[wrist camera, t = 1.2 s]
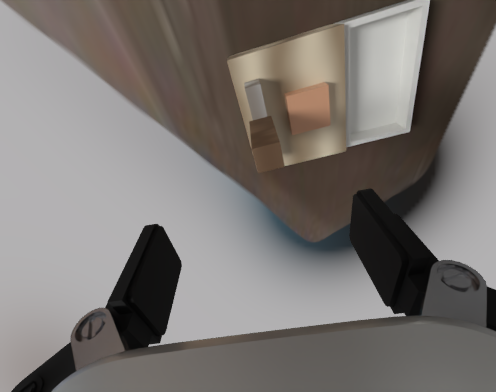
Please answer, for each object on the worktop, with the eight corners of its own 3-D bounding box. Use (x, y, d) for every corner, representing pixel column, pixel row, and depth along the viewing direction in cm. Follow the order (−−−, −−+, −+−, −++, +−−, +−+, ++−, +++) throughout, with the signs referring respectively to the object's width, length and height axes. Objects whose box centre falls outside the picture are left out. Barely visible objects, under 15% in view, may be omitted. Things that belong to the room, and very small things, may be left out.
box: (412, -2, 25) (430, -5, 22) (397, 124, 33) (409, 131, 30) (334, 23, 26) (343, 22, 23) (338, 138, 34) (345, 147, 31)
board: (331, 24, 26) (344, 23, 23) (336, 139, 34) (346, 151, 31) (228, 56, 27) (226, 60, 24) (256, 159, 35) (258, 172, 32)
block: (324, 81, 26) (328, 84, 24) (326, 121, 28) (330, 125, 27) (284, 93, 26) (286, 96, 25) (290, 130, 29) (292, 135, 28)
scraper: (262, 77, 25) (272, 101, 17) (277, 150, 30) (290, 195, 22) (240, 83, 26) (240, 109, 17) (259, 155, 31) (266, 201, 23)
